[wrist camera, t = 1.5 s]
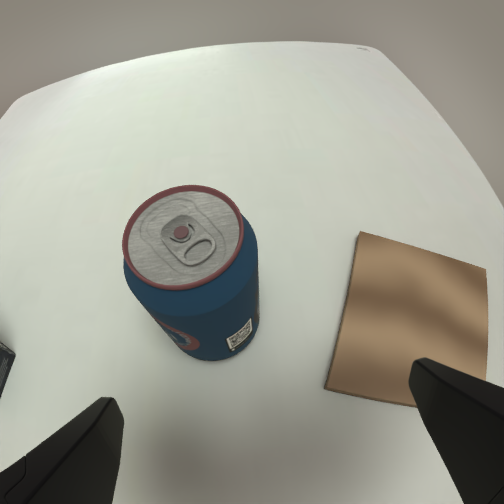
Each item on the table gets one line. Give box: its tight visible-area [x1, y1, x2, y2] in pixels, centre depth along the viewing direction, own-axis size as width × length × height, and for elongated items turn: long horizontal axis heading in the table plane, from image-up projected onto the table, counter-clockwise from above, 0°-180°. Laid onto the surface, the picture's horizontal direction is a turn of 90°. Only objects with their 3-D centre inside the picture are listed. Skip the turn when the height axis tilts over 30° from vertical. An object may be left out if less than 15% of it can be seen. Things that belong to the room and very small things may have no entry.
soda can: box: [122, 185, 259, 361], centre depth 19 cm, size 7×7×12 cm
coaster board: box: [324, 231, 488, 408], centre depth 23 cm, size 14×14×1 cm
